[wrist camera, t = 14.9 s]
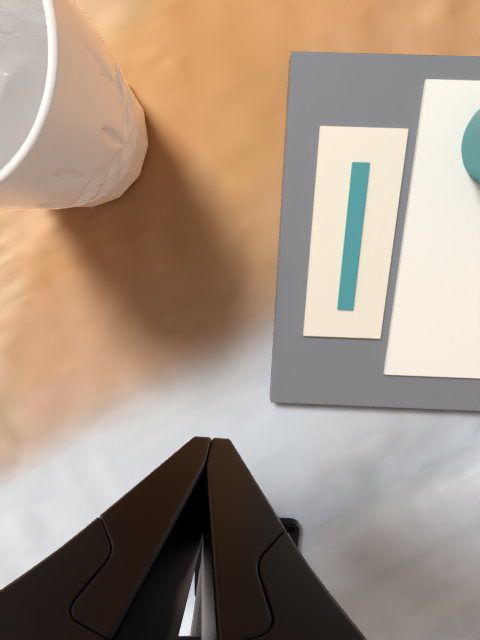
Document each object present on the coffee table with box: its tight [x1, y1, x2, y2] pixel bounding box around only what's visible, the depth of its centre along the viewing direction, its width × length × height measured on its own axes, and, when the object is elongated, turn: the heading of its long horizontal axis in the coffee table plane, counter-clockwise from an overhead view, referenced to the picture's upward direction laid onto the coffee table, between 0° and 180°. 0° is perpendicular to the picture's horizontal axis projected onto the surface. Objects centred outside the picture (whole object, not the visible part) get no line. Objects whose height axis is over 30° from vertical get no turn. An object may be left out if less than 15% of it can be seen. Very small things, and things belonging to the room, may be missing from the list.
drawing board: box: [270, 51, 480, 411], centre depth 18 cm, size 17×16×1 cm
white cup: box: [0, 0, 148, 210], centre depth 13 cm, size 8×8×10 cm
